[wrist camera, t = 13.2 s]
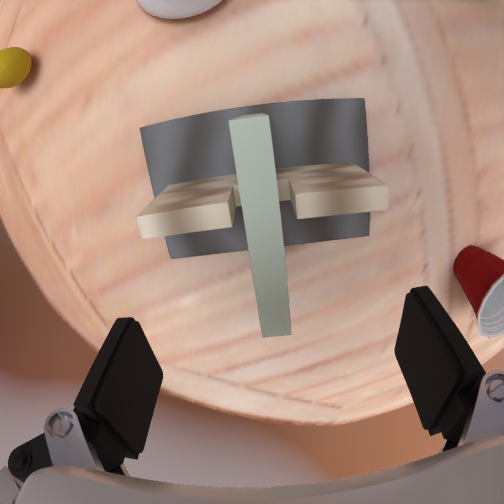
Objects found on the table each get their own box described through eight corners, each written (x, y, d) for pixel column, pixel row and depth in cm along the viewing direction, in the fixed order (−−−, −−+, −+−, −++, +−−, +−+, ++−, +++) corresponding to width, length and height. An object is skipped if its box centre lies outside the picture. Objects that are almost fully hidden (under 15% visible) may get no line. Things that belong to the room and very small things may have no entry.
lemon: (31, 42, 23) (-7, 38, 16) (48, 62, 25) (8, 60, 18) (10, 73, 25) (-28, 75, 18) (26, 94, 27) (-14, 99, 19)
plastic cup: (456, 222, 34) (507, 264, 24) (498, 236, 35) (544, 274, 24) (428, 288, 39) (466, 340, 28) (472, 294, 40) (509, 338, 29)
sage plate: (242, 115, 28) (228, 120, 14) (262, 113, 28) (268, 115, 14) (260, 239, 34) (262, 337, 20) (277, 238, 34) (291, 334, 20)
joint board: (359, 98, 28) (407, 97, 18) (365, 230, 35) (402, 280, 25) (144, 126, 30) (94, 138, 20) (173, 253, 37) (146, 309, 27)
